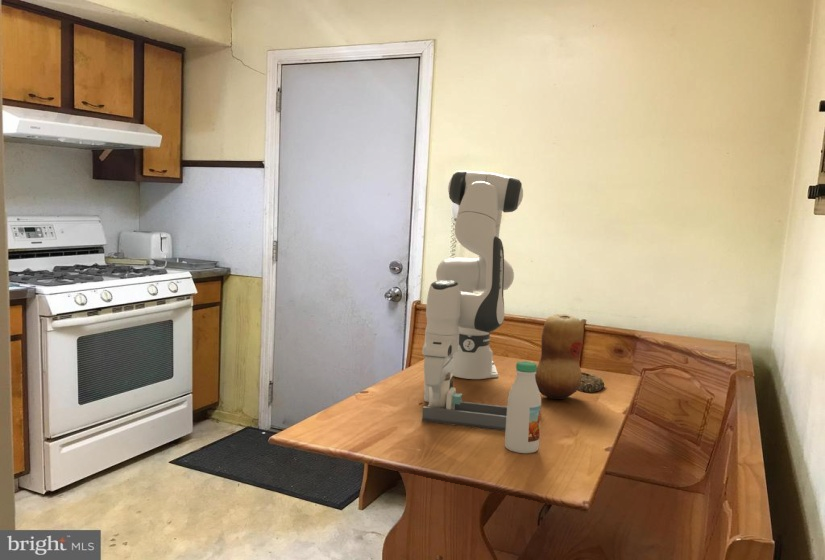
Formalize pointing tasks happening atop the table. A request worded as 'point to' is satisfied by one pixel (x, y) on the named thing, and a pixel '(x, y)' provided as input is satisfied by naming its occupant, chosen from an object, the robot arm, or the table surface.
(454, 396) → the pusher
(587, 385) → the grey speckled flat mound
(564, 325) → the butternut squash
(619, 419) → the table surface
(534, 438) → the milk bottle
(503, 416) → the lane
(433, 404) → the jar
